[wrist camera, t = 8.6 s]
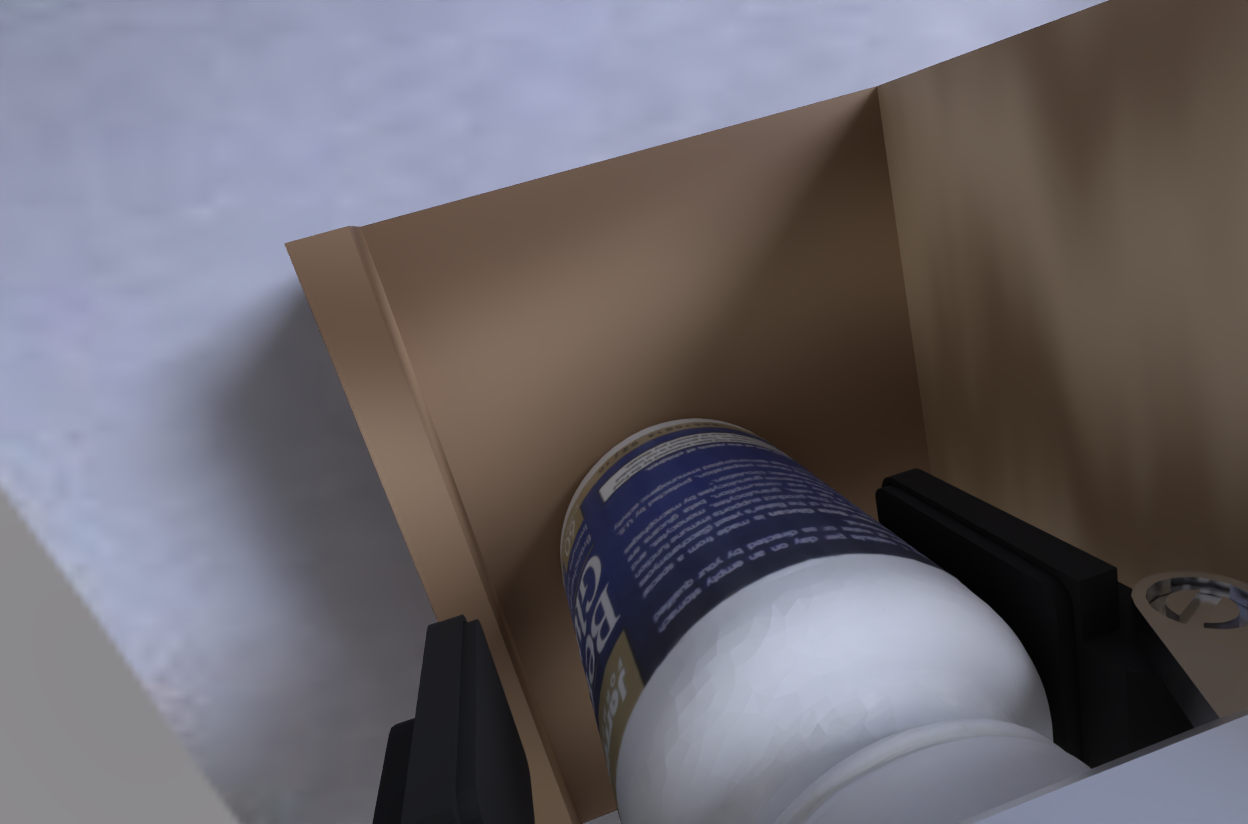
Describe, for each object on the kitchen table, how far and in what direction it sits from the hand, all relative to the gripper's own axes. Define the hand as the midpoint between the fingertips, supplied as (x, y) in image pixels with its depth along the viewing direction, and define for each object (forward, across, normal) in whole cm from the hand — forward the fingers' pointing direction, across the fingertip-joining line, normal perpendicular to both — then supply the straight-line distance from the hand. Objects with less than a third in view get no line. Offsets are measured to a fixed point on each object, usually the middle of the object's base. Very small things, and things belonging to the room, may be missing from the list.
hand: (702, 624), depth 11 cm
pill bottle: (+4, -1, 0) cm, 4 cm away
